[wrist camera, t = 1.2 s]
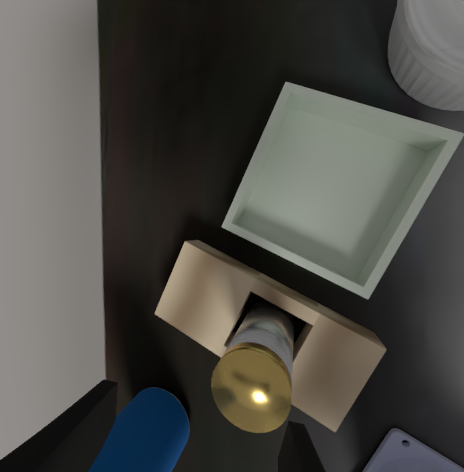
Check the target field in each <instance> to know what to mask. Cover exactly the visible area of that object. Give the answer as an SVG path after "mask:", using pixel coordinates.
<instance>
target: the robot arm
mask: <svg viewBox="0 0 464 472" xmlns="http://www.w3.org/2000/svg"><path fill="white" fill-rule="evenodd" d="M117 387H118V383H117V382H113V381H108V380H103V381H101V382H100V383H99V384H97V385H96V386H95V387H94V388H93V389H91V390H90V391H89V392H88V393H87V394H85V395H84V396H83V397H82V398H81V399H79V400H78V401H77V402H76V403H74V404H73V405H72V406H71V407H69V408H68V409H67V410H66V411H65V412H63V413H62V414H61V415H60V416H58V417H57V418H56V419H54V421H52V422H51V423H49V424H48V425H47V426H46V427H44V428H43V429H42V430H41V431H39V432H38V433H36V434H35V435H34V436H32V437H31V438H30V439H28V440H27V441H26V442H24V443H23V444H22V445H20V446H19V447H18V448H16V449H15V450H13V451H12V452H11V453H9V454H8V455H7V456H6V457H4V458H3V459H1V460H0V472H88V471H89V469H90V468H91V466H92V464H93V463H94V461H95V459H96V458H97V456H98V454H99V453H100V451H101V449H102V447H103V445H104V443H105V441H106V439H107V437H108V435H109V433H110V431H111V429H112V427H113V425H114V423H115V420H116V404H117ZM403 440H407V442H402V441H403ZM278 472H325V469H324V467H323V465H322V463H321V461H320V459H319V456H318V454H317V452H316V450H315V447H314V445H313V443H312V441H311V438H310V436H309V434H308V431H307V429H306V427H305V425H304V424H300V423H295V422H291V421H288V425H287V429H286V432H285V436H284V439H283V443H282V446H281V450H280V453H279V457H278ZM362 472H464V468H462V467H461V466H459V465H457V464H456V463H454V462H453V461H451V460H449V459H448V458H446V457H444V456H443V455H441V454H439V453H438V452H436V451H434V450H433V449H431V448H430V447H428V446H426V445H425V444H423V443H421V442H420V441H418V440H416V439H415V438H413V437H412V436H410V435H408V434H407V433H405V432H403V431H402V430H400V429H398V428H393V429H391V430H390V431H389V432H388V434H387V435H386V437H385V438H384V440H383V441H382V443H381V444H380V446H379V447H378V449H377V450H376V452H375V453H374V455H373V456H372V458H371V459H370V461H369V462H368V464H367V465H366V467H365V468H364V470H363V471H362Z"/></svg>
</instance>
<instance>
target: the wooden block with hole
mask: <svg viewBox="0 0 464 472" xmlns="http://www.w3.org/2000/svg"><path fill="white" fill-rule="evenodd" d="M252 292H253V293H255V294H257V295H259V296H260V297H262V298H264V299H266V300H268V301H269V302H271V303H273V304H275V305H277V306H278V307H280V308H282V309H284V310H286V311H288V312H289V313H291V314H293V315H295V316H297V317H298V318H300V319H302V320H304V321H306V324H305V326H304V327H303V329H302V331H301V333H300V335H299V337H298V339H297V340H296V342H295V344H294V346H293V370H292V395H291V404H293V405H294V406H296V407H297V408H299V409H300V410H302V411H303V412H305V413H306V414H308V415H309V416H311V417H312V418H314V419H315V420H317V421H318V422H320V423H322V424H323V425H325V426H326V427H328V428H329V429H331V430H332V431H334V432H336V431H337V429H338V427H339V426H340V424H341V423H342V421H343V419H344V418H345V416H346V414H347V413H348V411H349V410H350V408H351V406H352V405H353V403H354V402H355V400H356V398H357V397H358V395H359V394H360V392H361V390H362V389H363V387H364V386H365V384H366V382H367V381H368V379H369V377H370V376H371V374H372V373H373V371H374V369H375V368H376V366H377V365H378V363H379V361H380V360H381V358H382V357H383V355H384V353H385V352H386V350H387V349H386V348H385V346H384V345H383V344H382V342H381V341H380V340H379V338H378V337H377V335H376V334H375V333H374V332H372V331H371V330H369V329H367V328H365V327H363V326H361V325H359V324H357V323H355V322H353V321H352V320H350V319H348V318H346V317H344V316H342V315H340V314H338V313H336V312H334V311H333V310H331V309H329V308H327V307H325V306H323V305H321V304H319V303H317V302H315V301H313V300H312V299H310V298H308V297H306V296H304V295H302V294H300V293H298V292H296V291H294V290H293V289H291V288H289V287H287V286H285V285H283V284H281V283H279V282H277V281H275V280H274V279H272V278H270V277H268V276H266V275H264V274H262V273H260V272H258V271H256V270H255V269H253V268H251V267H249V266H247V265H245V264H243V263H241V262H239V261H237V260H236V259H234V258H232V257H230V256H228V255H226V254H224V253H222V252H220V251H218V250H217V249H215V248H213V247H211V246H209V245H207V244H205V243H203V242H201V241H199V240H191V241H185V242H184V245H183V247H182V249H181V252H180V254H179V256H178V259H177V261H176V264H175V266H174V268H173V271H172V273H171V276H170V278H169V280H168V283H167V285H166V287H165V290H164V292H163V295H162V297H161V299H160V302H159V304H158V307H157V309H156V311H155V314H156V315H157V316H159V317H160V318H162V319H163V320H165V321H166V322H168V323H169V324H171V325H172V326H174V327H175V328H177V329H178V330H180V331H182V332H183V333H185V334H186V335H188V336H189V337H191V338H192V339H194V340H195V341H197V342H198V343H200V344H201V345H203V346H204V347H206V348H207V349H209V350H210V351H212V352H213V353H215V354H217V355H218V356H220V357H222V356H223V354H224V352H225V351H226V349H227V347H228V345H229V344H230V342H231V340H232V339H233V337H234V335H235V334H236V333H234V332H233V329H234V327H235V325H236V323H237V321H238V319H239V317H240V315H241V313H242V311H243V309H244V307H245V305H246V303H247V301H248V299H249V297H250V295H251V293H252Z"/></svg>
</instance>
